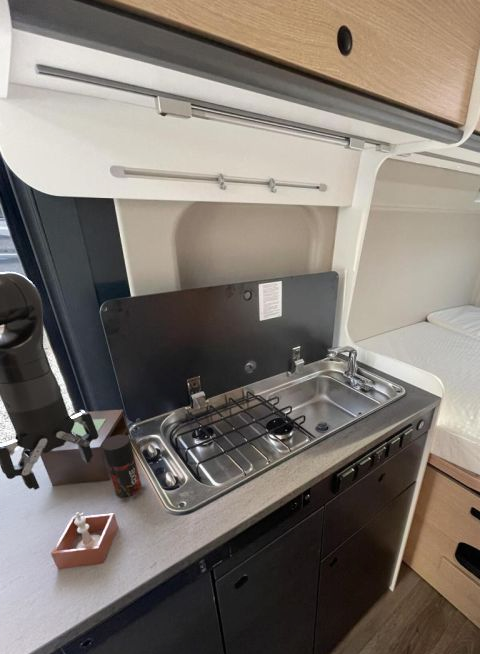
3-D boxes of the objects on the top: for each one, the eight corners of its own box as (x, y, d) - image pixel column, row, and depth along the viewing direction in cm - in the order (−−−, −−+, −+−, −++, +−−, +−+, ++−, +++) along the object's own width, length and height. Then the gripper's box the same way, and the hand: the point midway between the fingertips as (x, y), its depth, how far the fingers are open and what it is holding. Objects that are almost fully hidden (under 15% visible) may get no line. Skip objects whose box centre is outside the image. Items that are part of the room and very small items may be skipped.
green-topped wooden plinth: (52, 485, 85) (38, 451, 80) (82, 442, 101) (72, 412, 96) (109, 480, 87) (99, 446, 82) (130, 439, 103) (123, 408, 98)
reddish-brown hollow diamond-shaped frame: (57, 569, 65) (50, 554, 63) (77, 531, 73) (71, 517, 71) (103, 563, 66) (98, 548, 64) (118, 527, 74) (114, 512, 72)
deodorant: (123, 480, 87) (110, 434, 81) (145, 481, 87) (134, 434, 81) (111, 497, 82) (96, 449, 75) (134, 498, 81) (121, 450, 75)
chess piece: (104, 549, 69) (92, 515, 65) (77, 562, 66) (62, 527, 62) (102, 532, 73) (90, 499, 68) (75, 543, 70) (62, 510, 66)
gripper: (71, 377, 61) (93, 446, 68) (-30, 409, 51) (8, 487, 58) (89, 388, 57) (111, 460, 64) (-16, 425, 47) (23, 507, 54)
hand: (62, 473), depth 61 cm, fingers open, 8 cm apart
